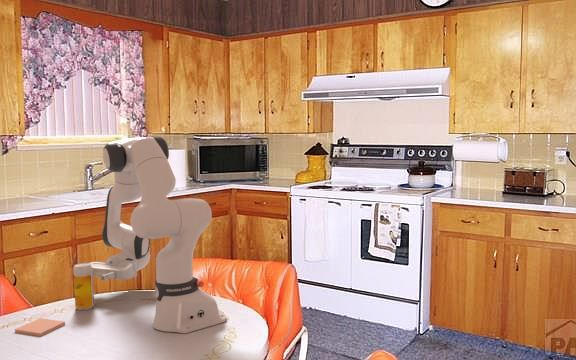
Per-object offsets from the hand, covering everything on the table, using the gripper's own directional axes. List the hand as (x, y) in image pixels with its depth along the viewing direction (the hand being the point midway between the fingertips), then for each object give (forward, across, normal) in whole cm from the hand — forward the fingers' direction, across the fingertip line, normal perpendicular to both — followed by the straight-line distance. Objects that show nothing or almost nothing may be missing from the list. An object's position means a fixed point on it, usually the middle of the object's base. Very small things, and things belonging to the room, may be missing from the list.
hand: (91, 276), depth 189 cm
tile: (+19, 0, +9) cm, 21 cm away
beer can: (+4, 0, +10) cm, 11 cm away
